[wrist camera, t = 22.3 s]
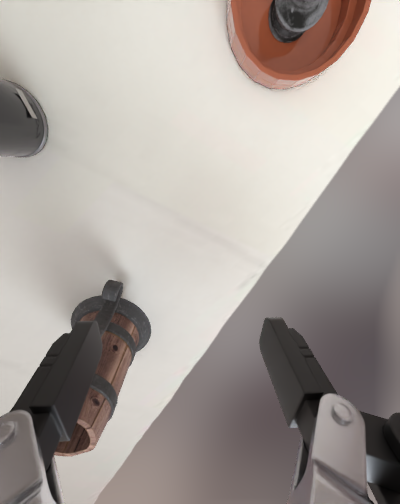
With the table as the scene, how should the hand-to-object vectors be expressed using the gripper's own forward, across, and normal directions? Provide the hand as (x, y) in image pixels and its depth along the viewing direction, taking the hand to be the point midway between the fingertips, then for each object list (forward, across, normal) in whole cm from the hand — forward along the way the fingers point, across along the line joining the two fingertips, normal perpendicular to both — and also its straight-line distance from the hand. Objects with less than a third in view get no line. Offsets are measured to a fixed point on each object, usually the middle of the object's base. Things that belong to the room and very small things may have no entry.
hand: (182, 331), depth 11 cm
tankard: (+28, +14, +26) cm, 40 cm away
